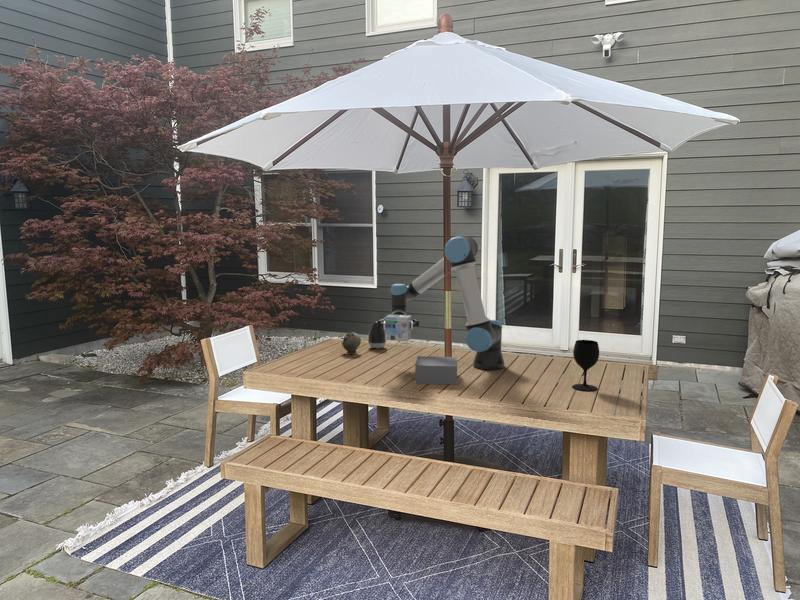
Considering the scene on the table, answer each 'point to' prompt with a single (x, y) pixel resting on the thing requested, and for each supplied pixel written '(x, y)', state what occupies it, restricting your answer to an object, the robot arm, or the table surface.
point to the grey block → (436, 370)
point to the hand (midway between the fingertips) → (398, 326)
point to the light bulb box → (398, 327)
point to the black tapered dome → (376, 336)
